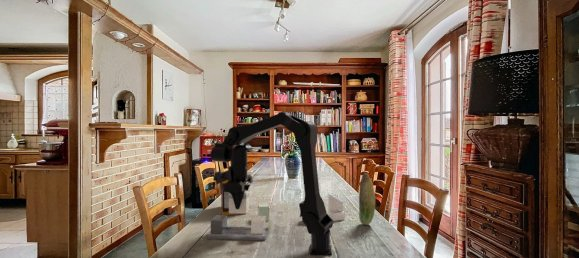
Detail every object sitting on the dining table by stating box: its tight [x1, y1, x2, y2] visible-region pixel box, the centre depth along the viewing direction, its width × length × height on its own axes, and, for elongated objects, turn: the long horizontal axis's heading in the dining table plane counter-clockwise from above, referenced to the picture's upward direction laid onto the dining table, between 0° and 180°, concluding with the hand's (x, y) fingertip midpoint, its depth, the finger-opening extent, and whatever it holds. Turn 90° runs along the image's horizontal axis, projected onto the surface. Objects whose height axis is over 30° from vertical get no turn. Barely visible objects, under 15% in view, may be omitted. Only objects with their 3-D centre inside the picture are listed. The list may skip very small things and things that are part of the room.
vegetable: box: [358, 173, 376, 226], centre depth 113 cm, size 6×6×20 cm
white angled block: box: [327, 194, 346, 222], centre depth 120 cm, size 4×10×9 cm, turn 105°
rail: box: [206, 214, 270, 241], centre depth 102 cm, size 8×20×6 cm, turn 86°
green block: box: [257, 202, 270, 222], centre depth 119 cm, size 5×4×6 cm
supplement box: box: [220, 180, 247, 216], centre depth 133 cm, size 10×15×16 cm
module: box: [229, 190, 250, 215], centre depth 102 cm, size 4×6×7 cm
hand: (239, 207), depth 102 cm, fingers closed on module, 4 cm apart
